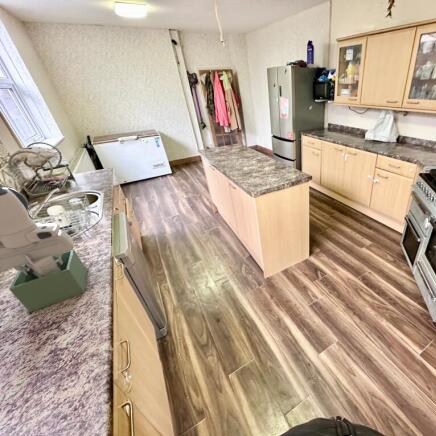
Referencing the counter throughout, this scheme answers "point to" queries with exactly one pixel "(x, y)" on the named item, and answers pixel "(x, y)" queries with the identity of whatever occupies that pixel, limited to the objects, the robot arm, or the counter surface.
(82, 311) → the counter surface
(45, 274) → the ink box
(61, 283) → the waste bin
